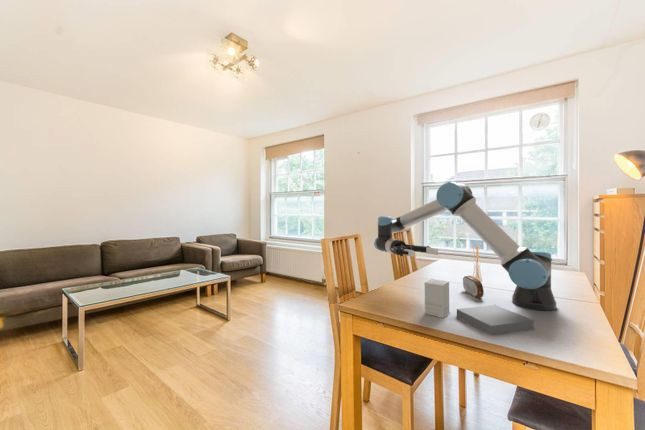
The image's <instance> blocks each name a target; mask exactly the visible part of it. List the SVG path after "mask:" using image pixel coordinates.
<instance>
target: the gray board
mask: <svg viewBox="0 0 645 430" xmlns="http://www.w3.org/2000/svg"><path fill="white" fill-rule="evenodd" d="M456 317H457V318H458V319H461V321H464V322H465V323H468V324H470V325H471V326H472V327H473V326H474V327H475V328H478V329H479V330H481V331H483V332H485V333H487V334H489V335H490V336H493V335H499V334H507V333H514V332H521V331H528V330H534V329H535V319H532V318H530V317H526V316H524V315H522V314H519V313H518V312H515V311H512V310H509V309H507V308H505V307H501V306H499V305H497V304H490V305H483V306H482V305H481V306H472V307H471V306H470V307H463V308H457V309H456Z"/></svg>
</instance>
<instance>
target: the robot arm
mask: <svg viewBox="0 0 645 430" xmlns="http://www.w3.org/2000/svg"><path fill="white" fill-rule="evenodd" d="M435 197H436V199H434V200H433V201H432V200H431V201H430V202H428V203H425V204H423V205H421V206H420V207H417V208H415V209H413V210H410V211H409V212H406V213H404V214H402V215H400V216H398V217H395V218H393V217H392V216H388V215H385V216H384V215H383V216H382V215H380V216H378V219H377V237H376V238H375V240H374V242H373V245H374V248H376V249H377V251H381V252H385V253H390V254H391V255H396V256H397V255H398V256H399V257H403V256H407V257H410V258H415V256H416V255H415V254H416V253H417V252H418V253H426V254H430V255H435V256H438V255H439V249H438V248H434V247H431V246H429V245H427V246H424V245H415V244H407V243H406V242H405V241H404V240H401V239H394V238H393V233H399V232H403V231H404V230H405V229H408V228H410V227H412V226H414V225H416V224H417V225H418V224H419V223H421V222H423V221H426V220H428V219H431V218H433V217H435V216H438V215H440V214H442V213H445V212H447V211H448V212H449V213H451V214H452V215H453V216H454V217H459V218H461V220H463V222H464V223H465V224H466V225H467V226H468V227H469V228H470V229H471V230H472V231H473V232H474V233H475V235H477V236H478V237H479V239H480V240H482V241H483V242H484V243H485V245H486V246H488V247H489V248H490V250H491V251H492V252H493V254H495V255H496V256H497V257H498V258H499V259H500V265H501V267H502V268H503V269H504V270H505V271H506V272H507V273H508V276H509V278H510V280H511V282H512V283H513V284H515V285H516V286H515V290H513V294H512V296H511V300H512V303H513V304H514V305H517V306H520V307H522V308H527V309H530V310H537V311H554V310H556V309H557V301H556V300H555V295H554V294H553V293H554V292H553V291H552V261H553V258H552V254H551V252H548V251H547V252H546V251H531V250H530V249H529V248H528V247H526V246H520V245H518V243H517V242H516V241H515V240H514V239H513V238H512V237H511V236H510V235H508V233H506V232H505V231H504V229H502V227H501V226H499V225H498V223H496V221H494V220H493V218H492V217H490V216H489V215H488V214H487V213H486V212H485V211H484V210H483V209H482V208H481V207H480V206H479V205H478V204H477V202H476V201H477V198H476V197H475V196H474V195H473V191H472V189H471V188H470V187H469V185H467V184H465V183H461V182H460V183H459V182H455V181H449V182H444V183H443V184H442V185H440V186H439V188H438V189H437V192H436V196H435Z"/></svg>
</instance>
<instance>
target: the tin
mask: <svg viewBox="0 0 645 430" xmlns="http://www.w3.org/2000/svg"><path fill="white" fill-rule="evenodd" d="M462 285H463V289H464V291H465V292H466V294H468V295H470V296H471V297H473V298H474V299H477V298H479V299H480V298H483V296H484V294H485V293H484V286H483V284H482V282H481V280H479V279H478V278H476V277H474V276H472V275H466V276H464V277H463V278H462Z"/></svg>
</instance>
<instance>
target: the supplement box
mask: <svg viewBox="0 0 645 430" xmlns="http://www.w3.org/2000/svg"><path fill="white" fill-rule="evenodd" d="M424 314H426V315H430V316H434V317H438V318H442V319H444V318H445V317H446V316H448V315H449V314H450V281H445V280H439V279H435V278H433V279H432V278H431V279H428V280H427V281H426V282H424Z"/></svg>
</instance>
